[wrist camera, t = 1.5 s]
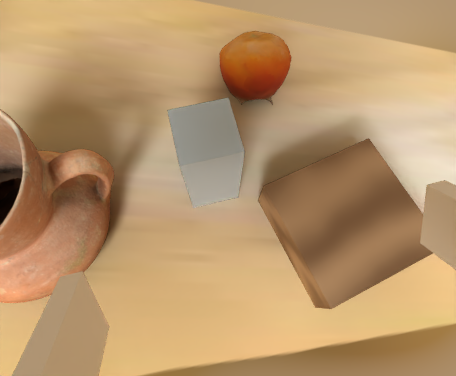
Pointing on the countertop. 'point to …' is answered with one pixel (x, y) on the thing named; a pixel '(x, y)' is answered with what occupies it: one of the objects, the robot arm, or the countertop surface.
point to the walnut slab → (344, 223)
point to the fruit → (254, 65)
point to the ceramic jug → (48, 213)
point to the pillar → (208, 150)
